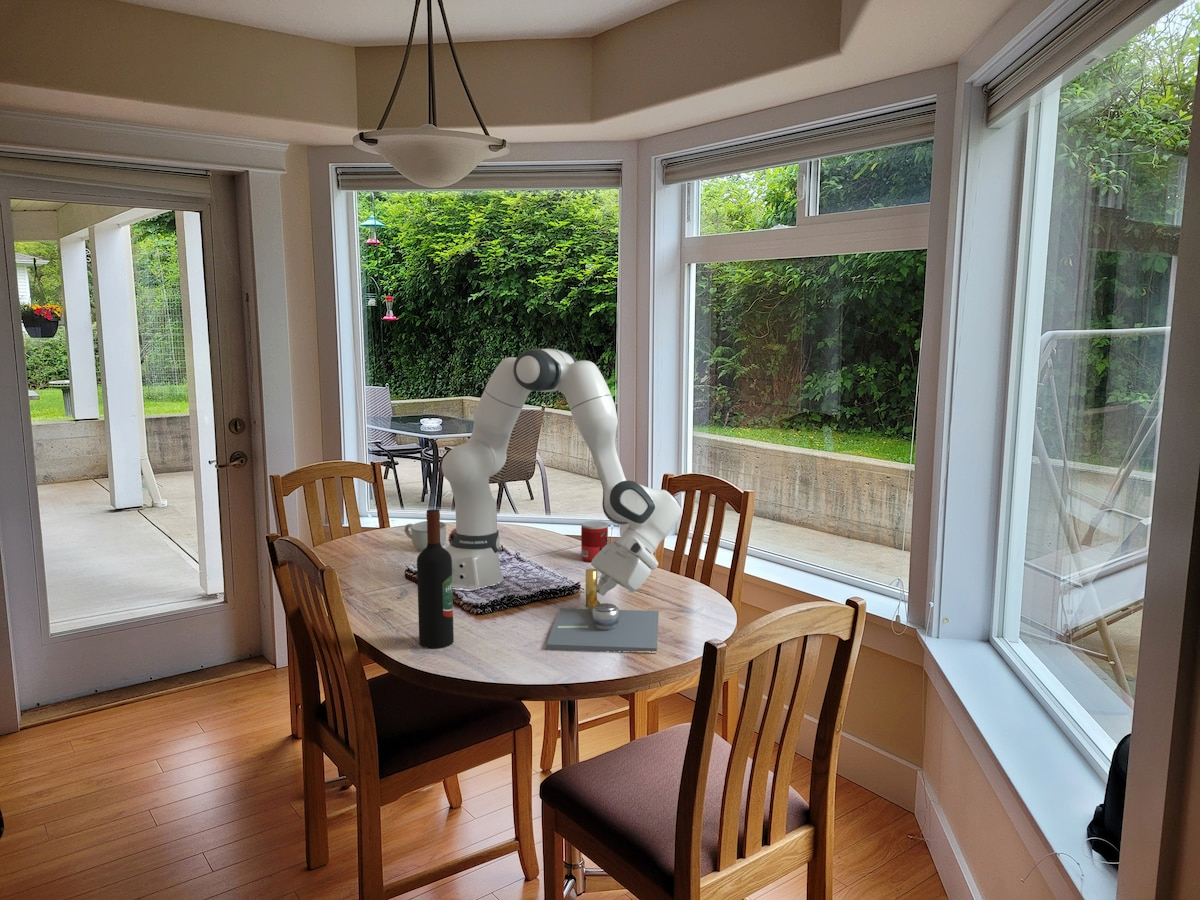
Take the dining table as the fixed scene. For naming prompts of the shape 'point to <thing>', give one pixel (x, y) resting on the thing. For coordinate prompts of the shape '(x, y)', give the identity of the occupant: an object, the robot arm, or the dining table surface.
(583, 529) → the canned food
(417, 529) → the teacup
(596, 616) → the door handle
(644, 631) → the base
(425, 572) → the wine bottle
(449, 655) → the dining table surface
